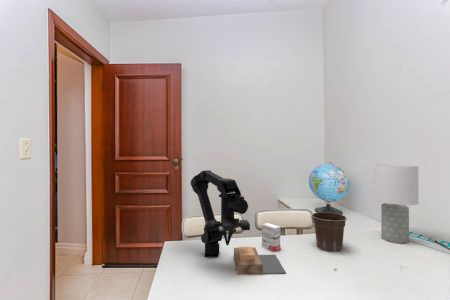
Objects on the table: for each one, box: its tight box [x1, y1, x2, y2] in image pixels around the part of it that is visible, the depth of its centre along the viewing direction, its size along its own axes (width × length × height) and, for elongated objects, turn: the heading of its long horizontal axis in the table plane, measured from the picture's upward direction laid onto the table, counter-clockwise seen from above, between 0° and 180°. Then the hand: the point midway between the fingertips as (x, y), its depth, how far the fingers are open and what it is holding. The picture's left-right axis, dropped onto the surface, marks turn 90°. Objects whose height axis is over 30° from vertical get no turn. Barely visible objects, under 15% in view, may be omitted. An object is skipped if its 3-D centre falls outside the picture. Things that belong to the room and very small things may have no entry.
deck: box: [233, 246, 264, 276], centre depth 105 cm, size 10×17×4 cm, turn 3°
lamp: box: [372, 163, 419, 245], centre depth 135 cm, size 21×21×42 cm
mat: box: [258, 254, 287, 275], centre depth 105 cm, size 10×17×1 cm, turn 3°
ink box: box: [261, 222, 281, 253], centre depth 122 cm, size 8×5×12 cm, turn 39°
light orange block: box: [237, 246, 255, 260], centre depth 105 cm, size 6×9×2 cm, turn 3°
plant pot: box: [311, 211, 347, 253], centre depth 124 cm, size 16×16×16 cm
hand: (227, 245), depth 104 cm, fingers closed
